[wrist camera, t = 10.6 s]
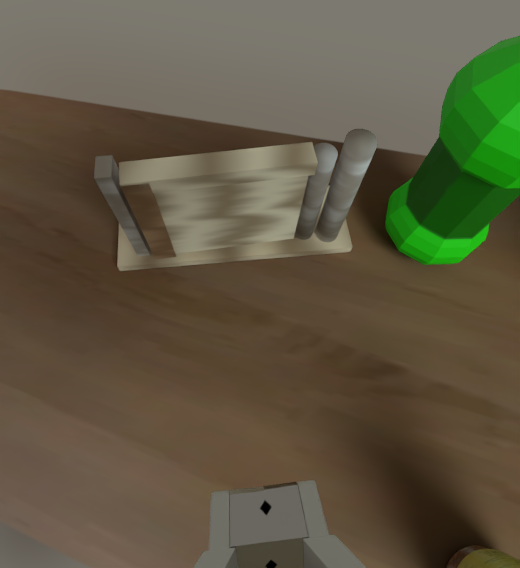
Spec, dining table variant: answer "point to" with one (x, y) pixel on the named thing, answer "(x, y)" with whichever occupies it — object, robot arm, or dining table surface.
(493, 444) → the dining table surface
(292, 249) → the wooden stand
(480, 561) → the sauce bottle
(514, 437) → the dining table surface
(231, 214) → the gate
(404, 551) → the dining table surface
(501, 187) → the plastic bottle
